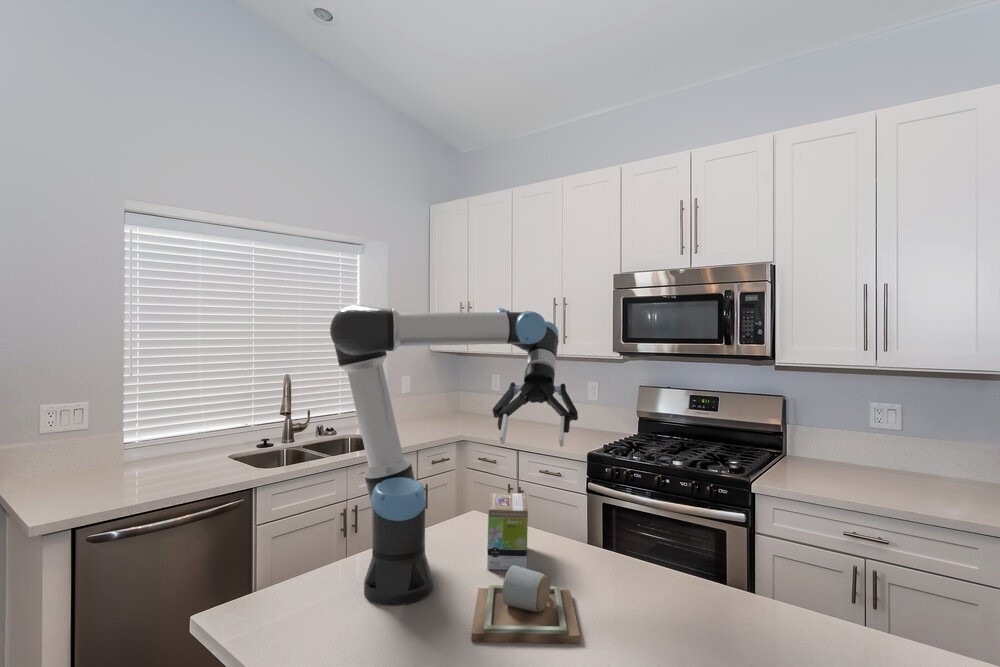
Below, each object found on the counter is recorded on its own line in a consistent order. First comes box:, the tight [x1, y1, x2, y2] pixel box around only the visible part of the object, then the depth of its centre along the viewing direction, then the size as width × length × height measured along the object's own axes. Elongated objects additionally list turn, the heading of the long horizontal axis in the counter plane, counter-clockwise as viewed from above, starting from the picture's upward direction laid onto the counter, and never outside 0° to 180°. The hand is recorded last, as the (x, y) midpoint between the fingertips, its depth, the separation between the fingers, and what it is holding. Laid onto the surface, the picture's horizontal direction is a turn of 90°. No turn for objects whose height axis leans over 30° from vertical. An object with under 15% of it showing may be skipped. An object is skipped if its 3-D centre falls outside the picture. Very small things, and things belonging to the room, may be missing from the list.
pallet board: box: [470, 584, 581, 645], centre depth 109 cm, size 20×18×2 cm
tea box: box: [486, 492, 529, 571], centre depth 138 cm, size 15×10×15 cm
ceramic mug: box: [502, 565, 551, 612], centre depth 111 cm, size 11×8×8 cm
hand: (531, 441), depth 123 cm, fingers open, 13 cm apart
